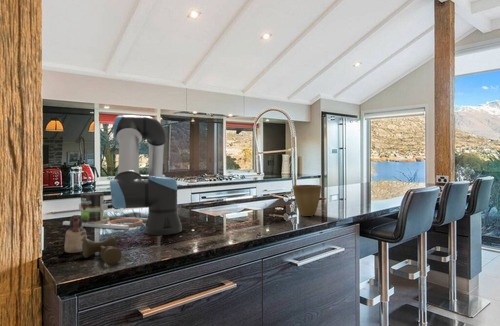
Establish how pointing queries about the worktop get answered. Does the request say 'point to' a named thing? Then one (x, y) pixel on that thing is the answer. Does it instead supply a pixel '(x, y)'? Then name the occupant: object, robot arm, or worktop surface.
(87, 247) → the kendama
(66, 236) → the figurine
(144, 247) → the worktop surface
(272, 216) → the worktop surface
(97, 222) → the flat rectangular tray
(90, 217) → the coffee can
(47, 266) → the worktop surface
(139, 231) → the worktop surface
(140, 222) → the marked ring
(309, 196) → the plant pot
